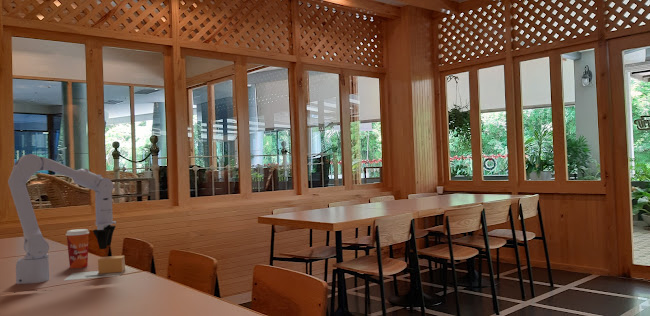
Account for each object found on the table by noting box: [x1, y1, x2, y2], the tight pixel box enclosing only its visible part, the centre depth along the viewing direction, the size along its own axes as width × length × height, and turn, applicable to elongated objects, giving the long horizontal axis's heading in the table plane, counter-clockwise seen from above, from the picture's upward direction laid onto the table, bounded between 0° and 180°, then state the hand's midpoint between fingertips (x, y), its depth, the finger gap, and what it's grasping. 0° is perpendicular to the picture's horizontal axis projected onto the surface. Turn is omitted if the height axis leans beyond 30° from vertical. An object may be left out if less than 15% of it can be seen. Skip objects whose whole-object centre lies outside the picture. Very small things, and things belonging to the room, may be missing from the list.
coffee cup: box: [65, 228, 90, 269], centre depth 196 cm, size 8×8×15 cm
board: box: [63, 270, 125, 281], centre depth 181 cm, size 18×12×1 cm, turn 102°
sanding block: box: [97, 255, 126, 274], centre depth 185 cm, size 8×5×5 cm, turn 100°
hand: (105, 247), depth 188 cm, fingers open, 7 cm apart
